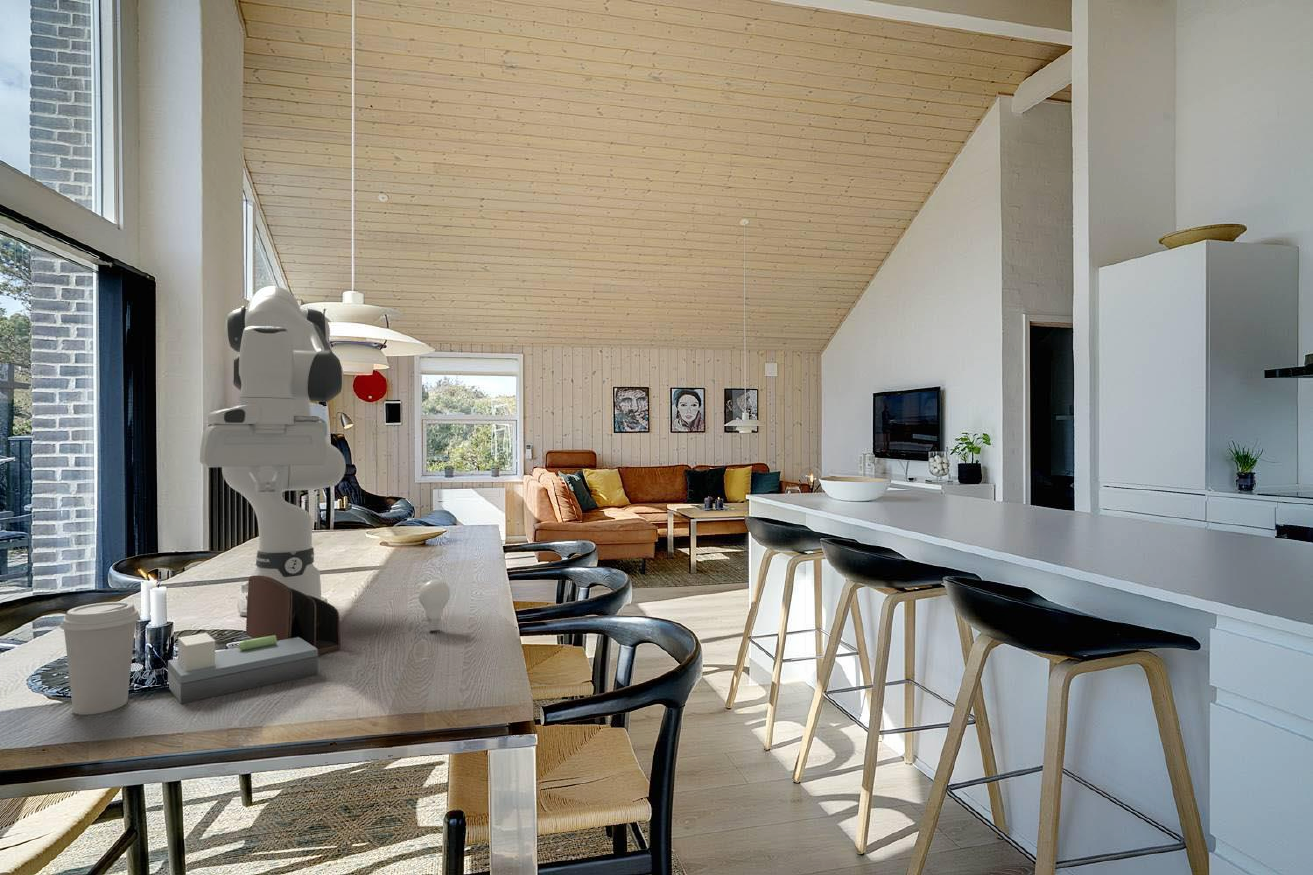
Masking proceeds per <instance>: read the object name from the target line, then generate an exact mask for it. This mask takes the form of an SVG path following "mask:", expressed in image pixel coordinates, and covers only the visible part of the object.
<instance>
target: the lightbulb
mask: <svg viewBox="0 0 1313 875" xmlns="http://www.w3.org/2000/svg"><path fill="white" fill-rule="evenodd" d="M450 597H451V590H450V587H449V586H448V584H447V583H446V582H445V581H443V580H441V579H437V578H434V579H430V580H427V581H425V582H424V583H423V584H422V585H421V587H420V588H419V591H418V600H419V602H420V605H421V606H422V608H423V609H424V610H425V616H426V618H427V630H428V631H429V632H432V633H435V632H436V633H437V632H438V631H439V630H441V629H442V626H441V625H442V624H441V623H442V622H441V618H442V615H443V612H444V609H445V607H446V605H447V604H448V602H449V601H450V599H451V598H450Z"/></svg>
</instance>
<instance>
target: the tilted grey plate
mask: <svg viewBox="0 0 1313 875" xmlns="http://www.w3.org/2000/svg"><path fill="white" fill-rule="evenodd" d="M237 646H238V647H235V648H229V649H226V650H225V649H224V650H219V651H216V639H214V638H213V637H212V636H210V635H209V633H206V632H204V633H198V634H193V635H185V636H181V637H178V638H177V658H176V659H169V660H167V670H168V669H169V670H170V671H171V672H172V674H173V675H174V676H175V677H176V678H177V680H178V681H179V682H180V683H181V684H182V683H187V682H192V681H197V680H202V679H207V678H212V677H217V676H222V675H227V674H232V673H237V672H241V671H246V670H251V669H256V668H261V667H266V666H271V665H276V664H281V663H286V662H291V661H296V660H301V659H306V658H311V657H316V656H319V655H318V649H317V648H315V647H314V646H312V645H311V644H309V643H307V642H306V641H304V640H303V639H301V638H300V637H296V638H291V639H285V640H279V641H277V638H276V635H273V636H267V637H262V638H256V639H250V640H246V639H244V640H241V641H240V642H239V643H238V645H237Z"/></svg>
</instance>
